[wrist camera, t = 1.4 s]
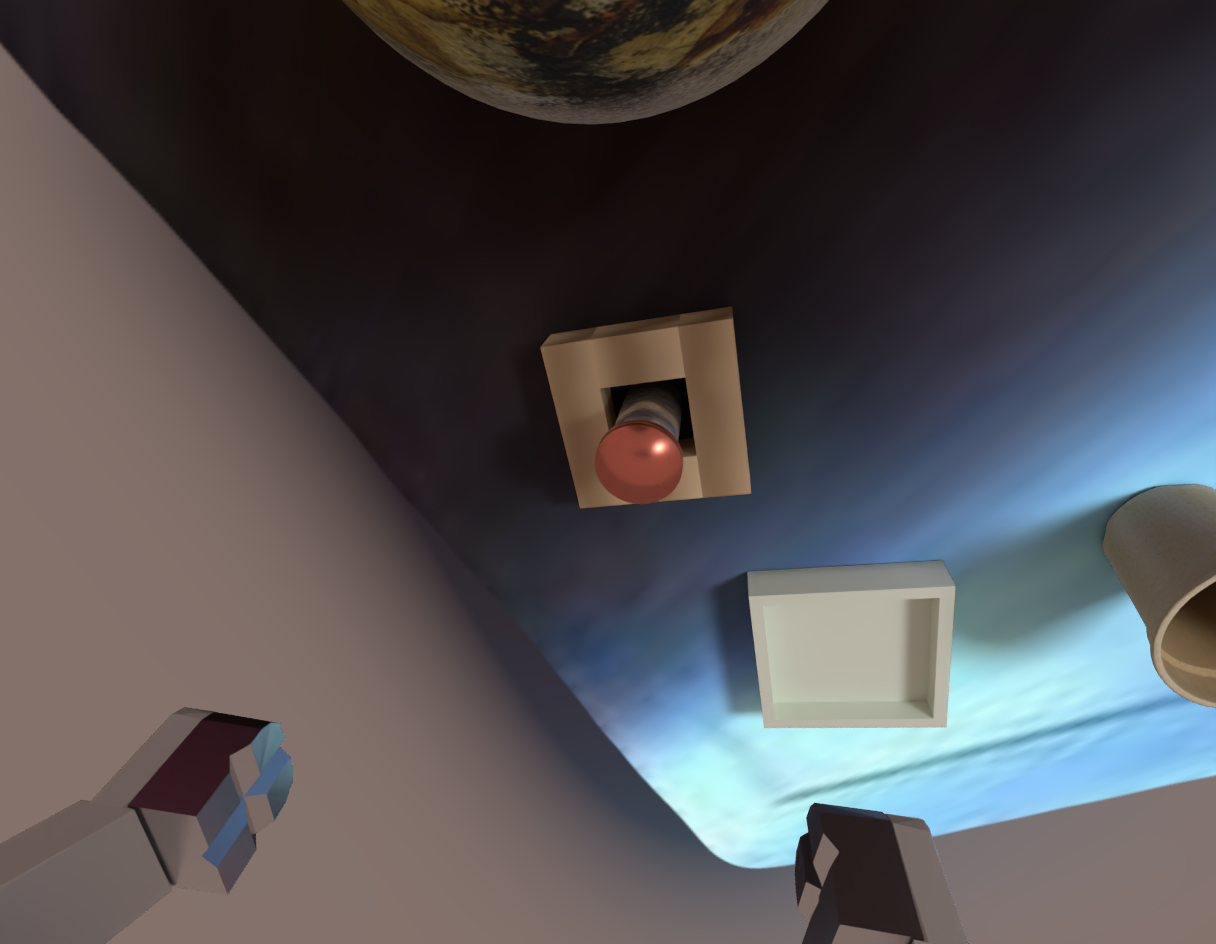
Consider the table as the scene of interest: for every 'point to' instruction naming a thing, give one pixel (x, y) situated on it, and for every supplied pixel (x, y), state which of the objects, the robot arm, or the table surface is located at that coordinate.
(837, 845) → the robot arm
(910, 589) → the tray
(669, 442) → the pin
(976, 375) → the table surface
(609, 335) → the block
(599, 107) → the decorative sphere
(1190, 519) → the flower pot
